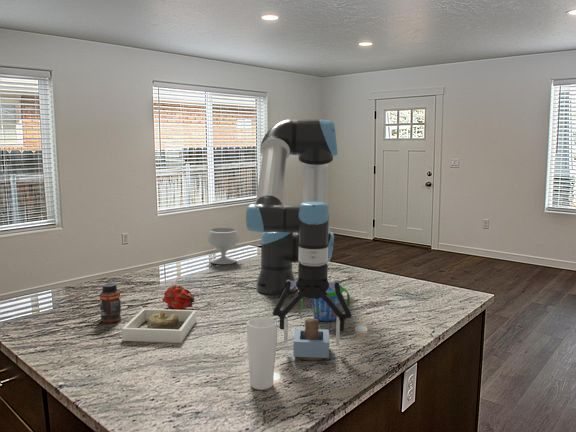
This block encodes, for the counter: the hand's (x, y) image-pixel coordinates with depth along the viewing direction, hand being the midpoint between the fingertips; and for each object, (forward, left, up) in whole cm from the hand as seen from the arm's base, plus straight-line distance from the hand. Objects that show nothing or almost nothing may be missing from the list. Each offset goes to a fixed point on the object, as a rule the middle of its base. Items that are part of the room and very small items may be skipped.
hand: (311, 341), depth 128 cm
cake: (-15, -44, -4) cm, 47 cm away
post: (0, 0, -3) cm, 3 cm away
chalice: (-96, -42, -3) cm, 105 cm away
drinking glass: (+18, -11, -3) cm, 21 cm away
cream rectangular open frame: (-12, -44, -3) cm, 46 cm away
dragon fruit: (-31, -44, -4) cm, 54 cm away
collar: (0, 0, -2) cm, 2 cm away
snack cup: (-27, +4, -4) cm, 28 cm away
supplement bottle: (-19, -62, -3) cm, 65 cm away
